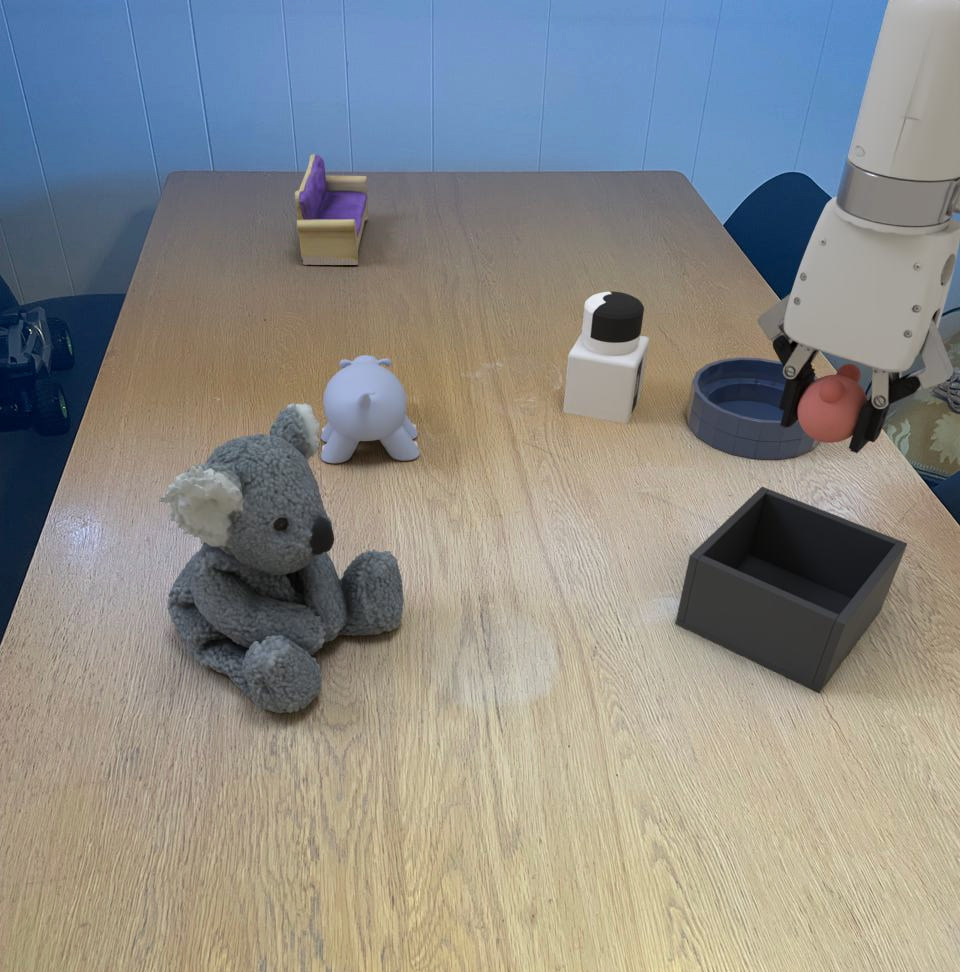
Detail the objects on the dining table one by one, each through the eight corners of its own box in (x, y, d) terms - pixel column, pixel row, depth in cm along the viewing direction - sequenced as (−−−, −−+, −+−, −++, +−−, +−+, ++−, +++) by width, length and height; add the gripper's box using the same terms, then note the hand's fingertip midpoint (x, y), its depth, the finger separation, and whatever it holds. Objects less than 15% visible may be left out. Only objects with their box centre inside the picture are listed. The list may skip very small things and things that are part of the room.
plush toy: (867, 436, 78) (889, 370, 74) (841, 462, 75) (862, 395, 71) (806, 415, 80) (825, 350, 76) (779, 440, 77) (796, 374, 73)
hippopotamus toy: (414, 403, 114) (412, 325, 107) (422, 472, 103) (420, 390, 96) (322, 406, 113) (314, 328, 106) (320, 476, 102) (311, 394, 95)
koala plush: (290, 737, 74) (257, 531, 61) (126, 650, 81) (64, 448, 68) (418, 615, 85) (413, 418, 72) (264, 547, 92) (233, 356, 79)
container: (641, 397, 116) (657, 291, 107) (627, 428, 110) (642, 318, 102) (579, 385, 118) (589, 280, 109) (562, 415, 112) (571, 307, 103)
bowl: (841, 424, 112) (853, 385, 109) (784, 479, 103) (796, 438, 100) (723, 383, 119) (731, 345, 116) (661, 432, 110) (668, 392, 107)
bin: (880, 610, 87) (907, 543, 82) (819, 693, 79) (845, 624, 74) (744, 552, 93) (761, 485, 88) (674, 623, 85) (689, 555, 80)
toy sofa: (358, 268, 143) (354, 196, 136) (300, 267, 143) (292, 195, 136) (370, 219, 159) (367, 152, 152) (317, 218, 158) (311, 150, 152)
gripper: (1045, 209, 63) (947, 451, 75) (802, 154, 71) (749, 382, 83) (1011, 240, 59) (913, 491, 71) (755, 178, 66) (707, 415, 79)
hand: (825, 430), depth 77 cm, fingers closed on plush toy, 5 cm apart
